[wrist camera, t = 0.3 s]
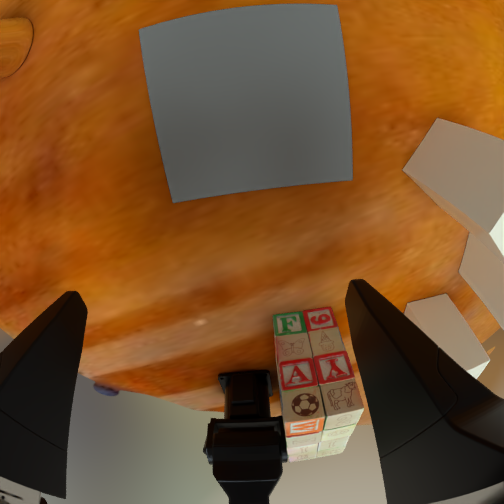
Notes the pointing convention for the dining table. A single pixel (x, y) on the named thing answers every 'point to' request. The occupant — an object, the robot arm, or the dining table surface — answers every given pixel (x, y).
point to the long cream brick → (449, 331)
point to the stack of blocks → (314, 384)
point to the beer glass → (14, 44)
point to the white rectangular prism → (464, 178)
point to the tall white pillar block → (484, 276)
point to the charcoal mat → (249, 99)
